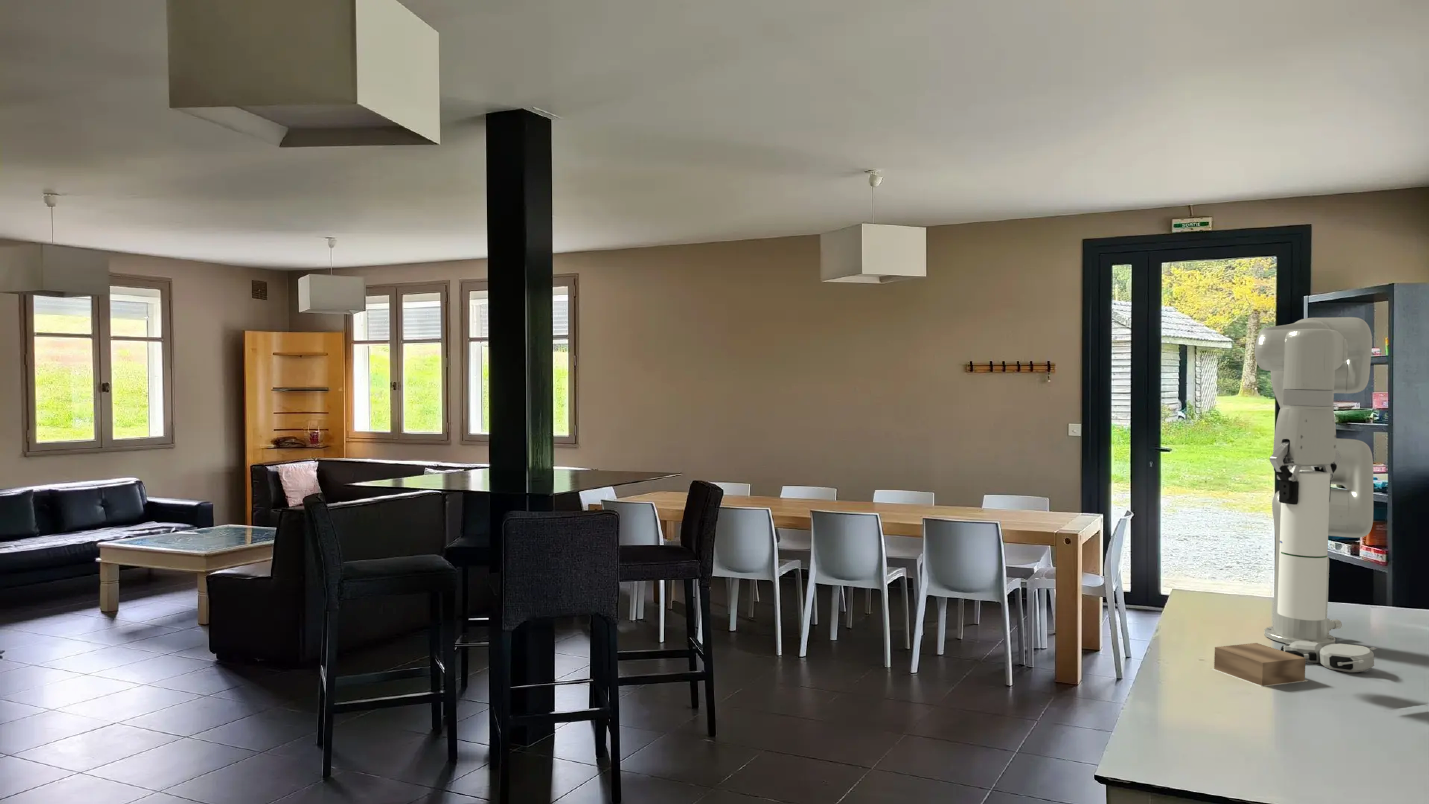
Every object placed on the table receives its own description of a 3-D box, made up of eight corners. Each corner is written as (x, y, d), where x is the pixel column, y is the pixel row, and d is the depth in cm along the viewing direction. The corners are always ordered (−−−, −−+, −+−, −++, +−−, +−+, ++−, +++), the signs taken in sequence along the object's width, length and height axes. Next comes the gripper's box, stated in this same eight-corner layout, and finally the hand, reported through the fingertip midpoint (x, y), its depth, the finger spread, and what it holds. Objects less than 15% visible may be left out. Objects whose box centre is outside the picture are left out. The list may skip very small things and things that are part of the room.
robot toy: (1273, 671, 182) (1368, 683, 172) (1271, 646, 182) (1367, 657, 172) (1289, 658, 191) (1380, 669, 181) (1288, 634, 191) (1379, 644, 181)
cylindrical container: (1318, 612, 171) (1323, 471, 170) (1330, 622, 165) (1336, 475, 164) (1272, 608, 173) (1277, 469, 173) (1283, 618, 167) (1288, 473, 166)
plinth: (1255, 664, 179) (1256, 642, 179) (1304, 680, 170) (1305, 658, 170) (1214, 669, 176) (1214, 647, 176) (1262, 685, 167) (1262, 662, 167)
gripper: (1322, 399, 174) (1318, 497, 175) (1252, 399, 168) (1249, 501, 169) (1363, 401, 167) (1360, 503, 168) (1292, 401, 161) (1288, 507, 162)
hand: (1304, 501), depth 168 cm, fingers closed on cylindrical container, 7 cm apart
